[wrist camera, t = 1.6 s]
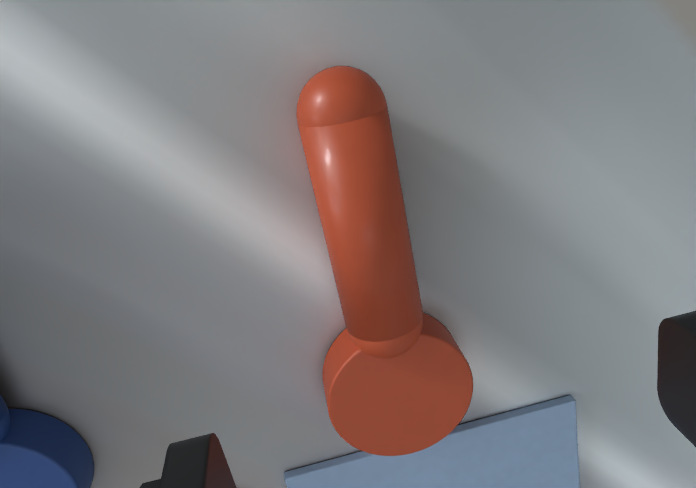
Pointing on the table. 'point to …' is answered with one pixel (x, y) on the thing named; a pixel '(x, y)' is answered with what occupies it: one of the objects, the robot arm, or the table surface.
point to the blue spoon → (41, 452)
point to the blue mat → (469, 456)
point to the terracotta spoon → (375, 278)
